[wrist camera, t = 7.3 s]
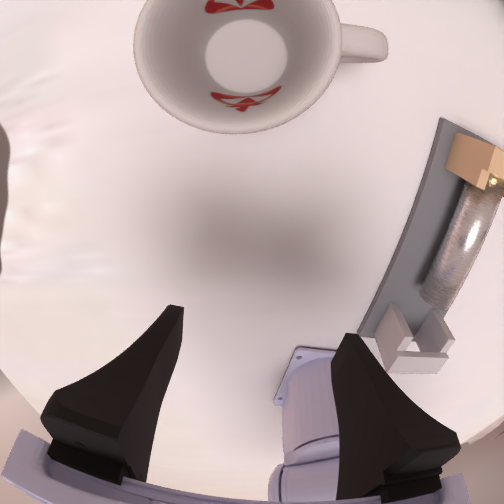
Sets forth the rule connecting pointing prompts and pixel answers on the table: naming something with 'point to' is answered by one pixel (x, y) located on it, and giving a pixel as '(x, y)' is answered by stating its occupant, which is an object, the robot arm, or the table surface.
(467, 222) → the tube
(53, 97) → the table surface
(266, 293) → the table surface
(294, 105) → the cup
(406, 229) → the board
